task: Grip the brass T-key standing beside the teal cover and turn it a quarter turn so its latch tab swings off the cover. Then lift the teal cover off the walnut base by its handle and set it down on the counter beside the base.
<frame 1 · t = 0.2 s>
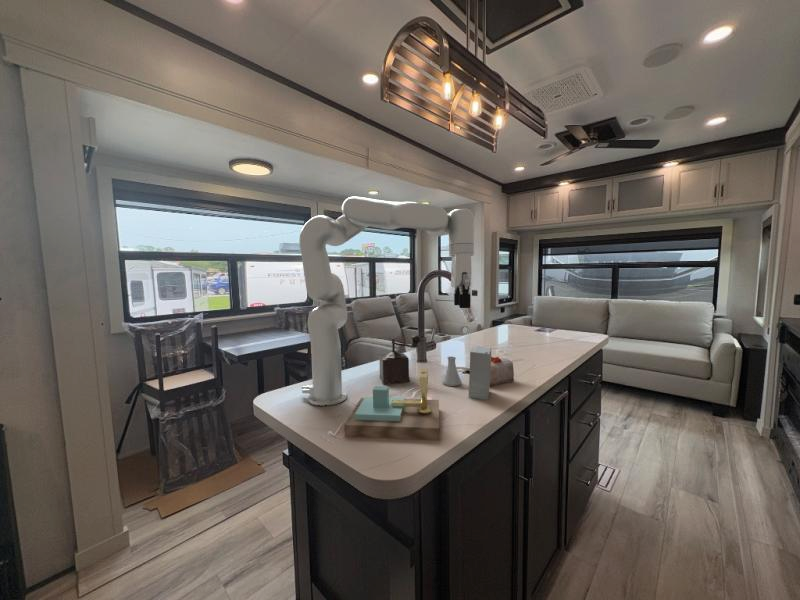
hand: (461, 306, 97), 31 cm above the counter, tool pointing down, fingers open, 9 cm apart
food item: (494, 383, 118), on the counter
flask: (451, 384, 117), on the counter
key: (411, 391, 86), point 9 cm above the counter, hinge at 0.0°
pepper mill: (400, 379, 124), on the counter
skincare box: (480, 395, 105), on the counter
cover: (381, 410, 87), point 3 cm above the counter, touching base
base: (395, 421, 87), on the counter
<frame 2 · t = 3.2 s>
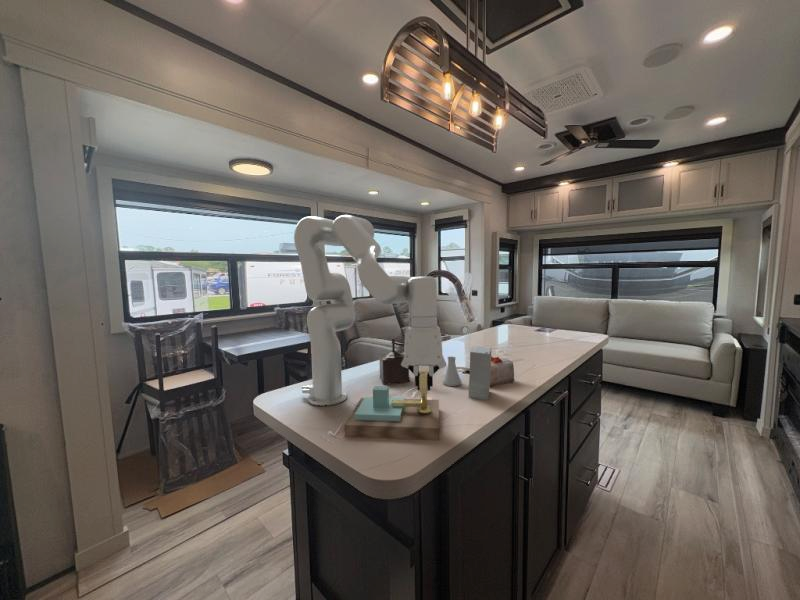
hand: (424, 388, 85), 10 cm above the counter, tool pointing down, fingers closed on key, 2 cm apart
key: (411, 391, 86), point 9 cm above the counter, hinge at 0.0°, touching gripper
everything else where it was.
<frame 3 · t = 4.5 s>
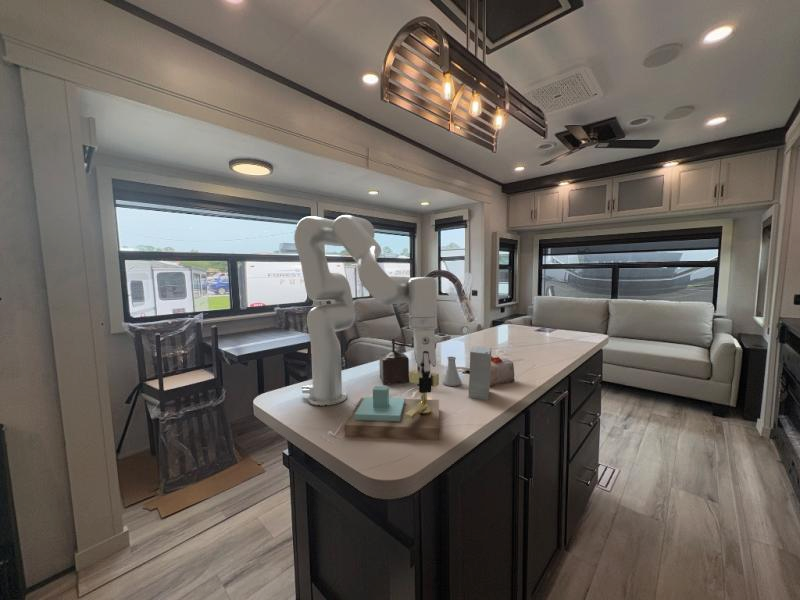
hand: (423, 388, 85), 10 cm above the counter, tool pointing down, fingers open, 4 cm apart
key: (418, 396, 82), point 9 cm above the counter, hinge at 66.1°
everything else where it was.
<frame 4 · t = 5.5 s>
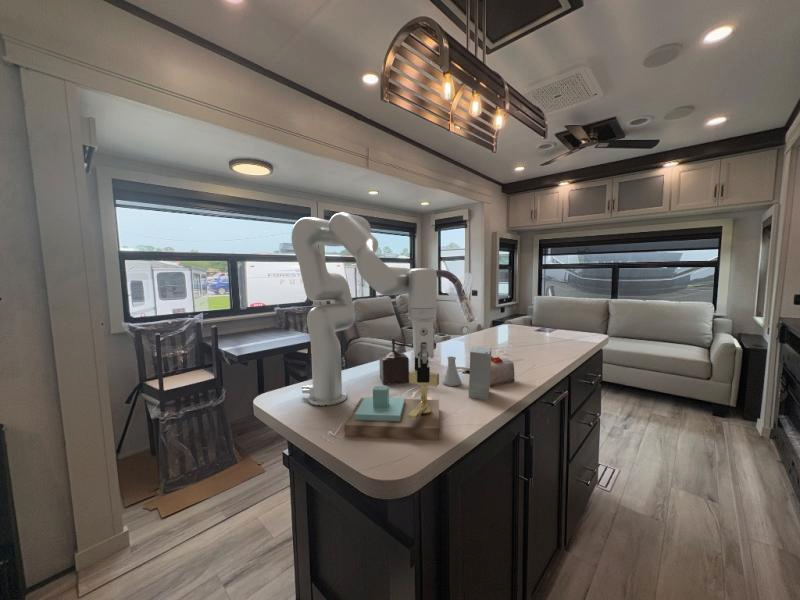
hand: (421, 376, 85), 13 cm above the counter, tool pointing down, fingers open, 9 cm apart
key: (419, 396, 82), point 9 cm above the counter, hinge at 72.0°
everything else where it was.
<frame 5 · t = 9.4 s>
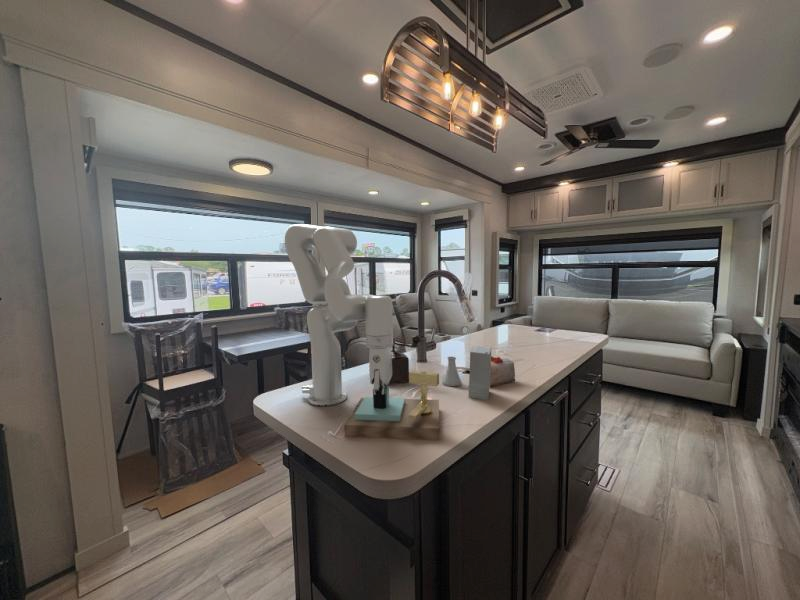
hand: (381, 404, 87), 5 cm above the counter, tool pointing down, fingers closed on cover, 3 cm apart
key: (419, 396, 82), point 9 cm above the counter, hinge at 72.9°
cover: (381, 410, 87), point 3 cm above the counter, touching gripper
everything else where it was.
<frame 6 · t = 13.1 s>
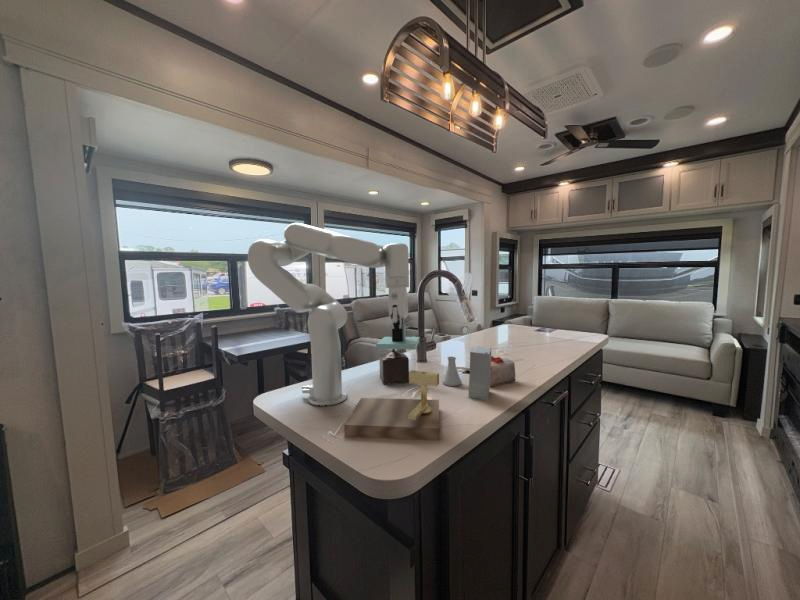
hand: (398, 339, 100), 20 cm above the counter, tool pointing down, fingers closed on cover, 3 cm apart
cover: (399, 344, 100), point 19 cm above the counter, touching gripper
everything else where it was.
when the fingers open (3 cm above the counter, at t = 16.9 s): cover drops 2 cm, on the counter.
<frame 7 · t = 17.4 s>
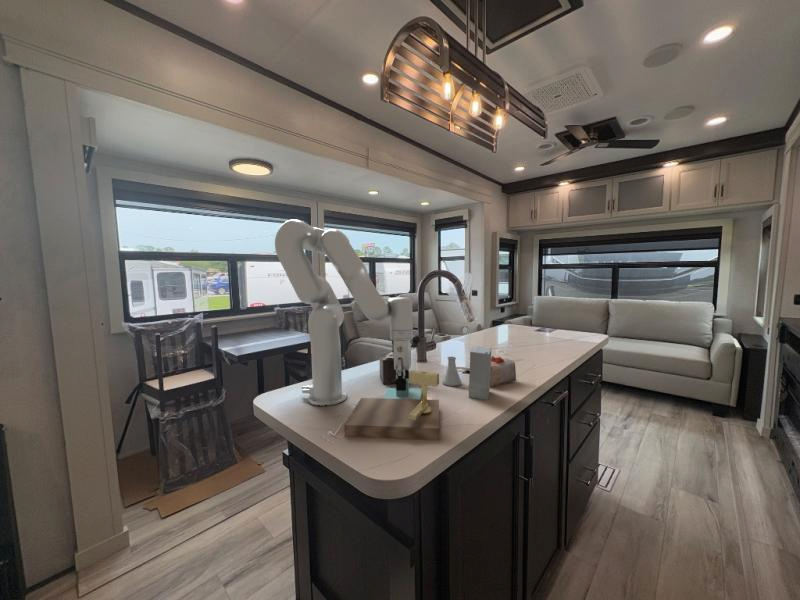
hand: (402, 385, 104), 4 cm above the counter, tool pointing down, fingers open, 8 cm apart
cover: (402, 398, 105), on the counter
everything else where it was.
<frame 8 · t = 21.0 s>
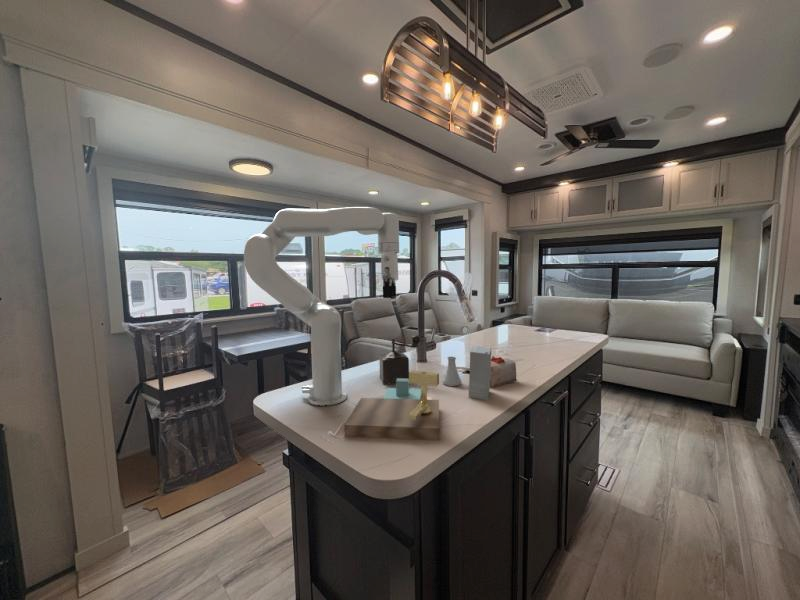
hand: (389, 297, 112), 33 cm above the counter, tool pointing down, fingers open, 9 cm apart
at the end: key at +73° (first picture: +0°); cover inside the target area (0.0 cm from its centre), on the counter; cover tilted 0° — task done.
